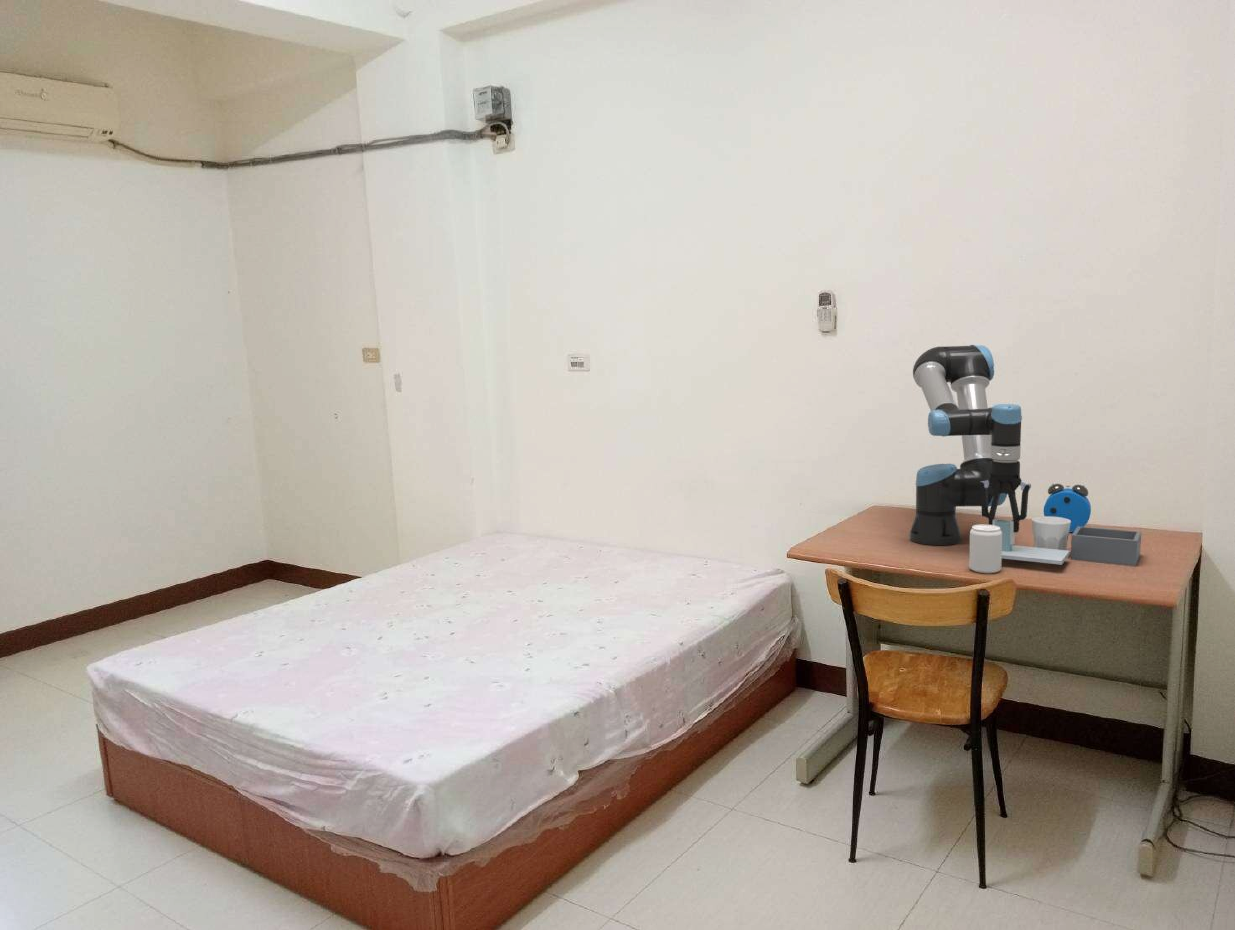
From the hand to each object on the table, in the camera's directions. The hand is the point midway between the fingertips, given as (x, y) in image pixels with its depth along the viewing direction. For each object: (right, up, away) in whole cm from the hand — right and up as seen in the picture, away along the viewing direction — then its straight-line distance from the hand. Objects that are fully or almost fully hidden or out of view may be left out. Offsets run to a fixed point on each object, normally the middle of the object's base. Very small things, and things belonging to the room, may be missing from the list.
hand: (1003, 542), depth 254 cm
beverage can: (-8, -7, -7) cm, 13 cm away
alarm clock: (+33, +1, +31) cm, 45 cm away
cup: (+16, -4, +6) cm, 17 cm away
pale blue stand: (+6, -3, -4) cm, 8 cm away
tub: (+28, -4, 0) cm, 29 cm away
